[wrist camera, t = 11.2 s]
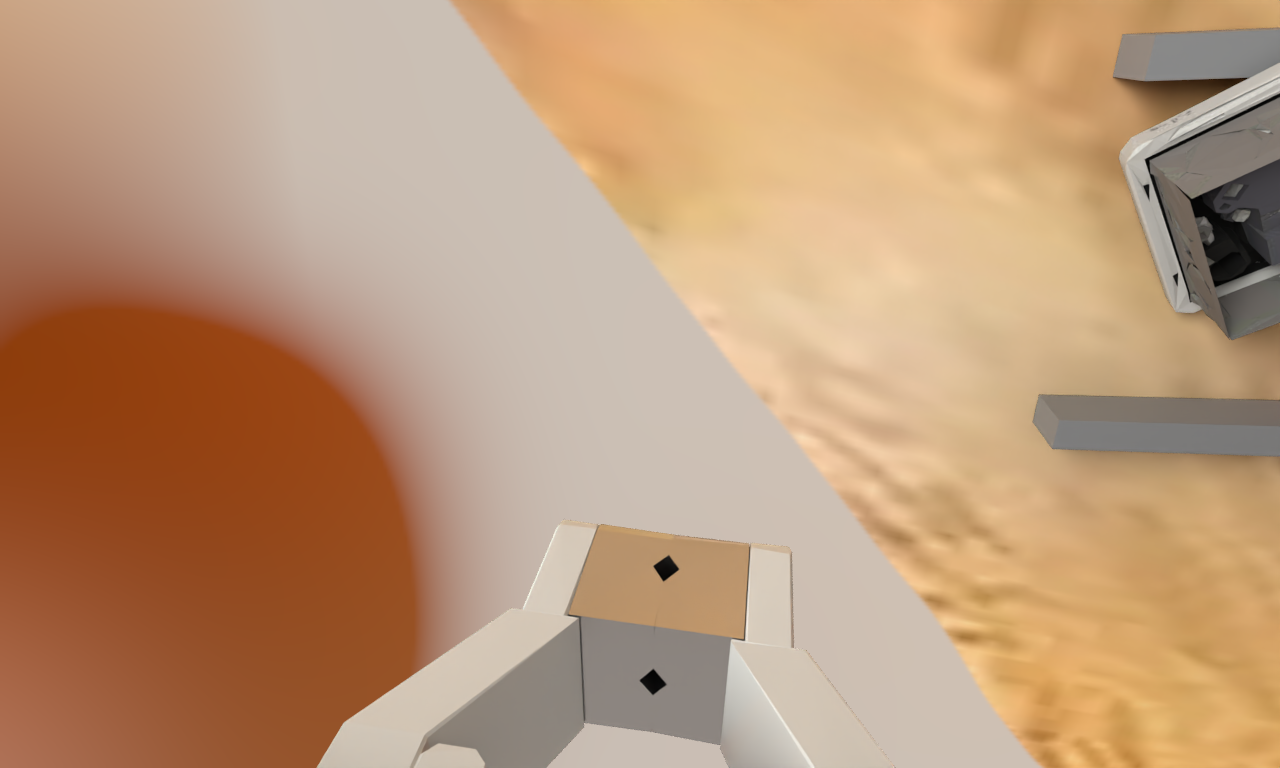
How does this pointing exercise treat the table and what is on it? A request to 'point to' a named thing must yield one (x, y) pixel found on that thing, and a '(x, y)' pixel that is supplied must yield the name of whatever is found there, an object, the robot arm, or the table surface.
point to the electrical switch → (1215, 204)
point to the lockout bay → (1173, 418)
